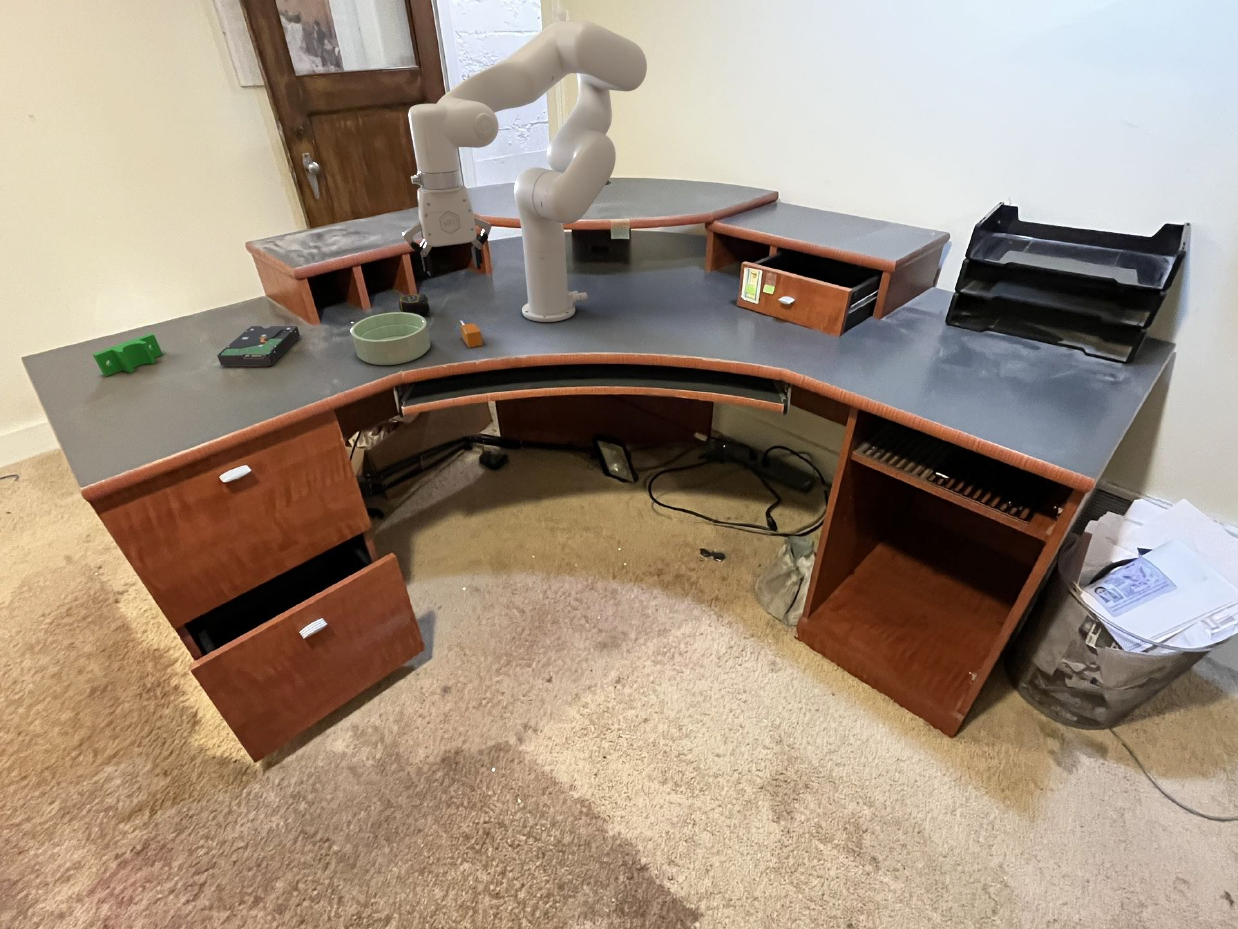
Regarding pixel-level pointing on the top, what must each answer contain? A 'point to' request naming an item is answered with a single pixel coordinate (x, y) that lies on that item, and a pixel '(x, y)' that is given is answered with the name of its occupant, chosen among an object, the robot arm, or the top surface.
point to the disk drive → (259, 346)
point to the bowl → (391, 338)
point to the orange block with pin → (471, 334)
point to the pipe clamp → (128, 355)
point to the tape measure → (414, 304)
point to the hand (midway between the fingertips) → (454, 270)
